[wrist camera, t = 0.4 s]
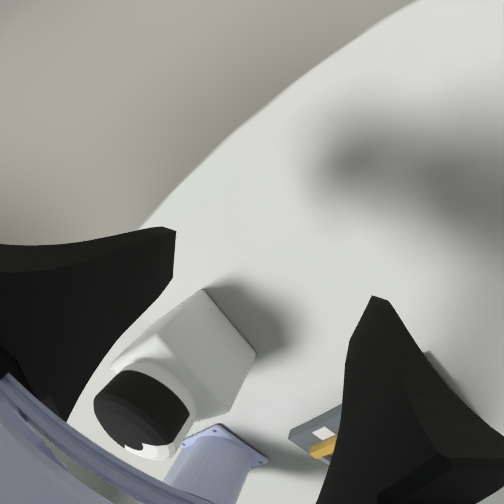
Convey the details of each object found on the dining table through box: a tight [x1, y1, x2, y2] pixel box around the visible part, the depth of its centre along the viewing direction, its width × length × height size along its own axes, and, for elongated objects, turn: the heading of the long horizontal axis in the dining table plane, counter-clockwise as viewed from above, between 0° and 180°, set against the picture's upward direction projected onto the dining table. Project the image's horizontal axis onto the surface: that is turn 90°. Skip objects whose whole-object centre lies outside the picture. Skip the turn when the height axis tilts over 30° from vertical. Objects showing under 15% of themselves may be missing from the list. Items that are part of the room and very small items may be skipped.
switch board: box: [288, 362, 457, 466], centre depth 22 cm, size 15×20×2 cm
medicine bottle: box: [94, 290, 256, 461], centre depth 20 cm, size 7×7×12 cm
